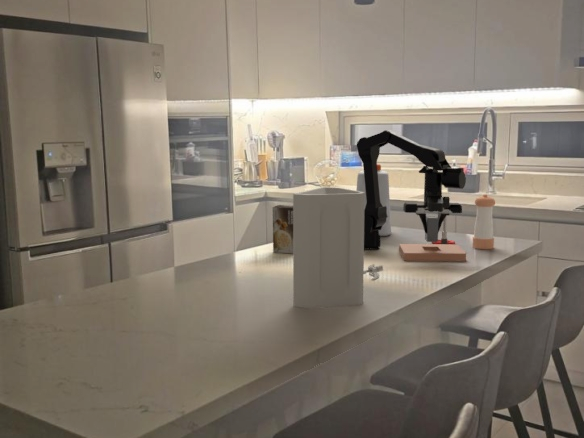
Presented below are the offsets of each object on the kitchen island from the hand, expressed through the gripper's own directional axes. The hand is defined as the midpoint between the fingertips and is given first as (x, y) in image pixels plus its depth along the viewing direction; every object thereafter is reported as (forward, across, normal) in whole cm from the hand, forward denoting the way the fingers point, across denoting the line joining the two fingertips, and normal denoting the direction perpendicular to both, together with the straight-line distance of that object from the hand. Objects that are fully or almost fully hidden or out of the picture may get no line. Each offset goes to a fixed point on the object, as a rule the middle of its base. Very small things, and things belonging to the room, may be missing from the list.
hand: (431, 233), depth 223 cm
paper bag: (+8, -33, -57) cm, 67 cm away
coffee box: (+8, -49, +5) cm, 50 cm away
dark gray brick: (+2, 0, 0) cm, 2 cm away
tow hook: (+8, +8, +23) cm, 26 cm away
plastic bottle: (+8, -17, +44) cm, 48 cm away
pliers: (+8, -23, -27) cm, 36 cm away
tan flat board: (+8, 0, 0) cm, 8 cm away
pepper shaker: (+8, +21, +16) cm, 28 cm away
